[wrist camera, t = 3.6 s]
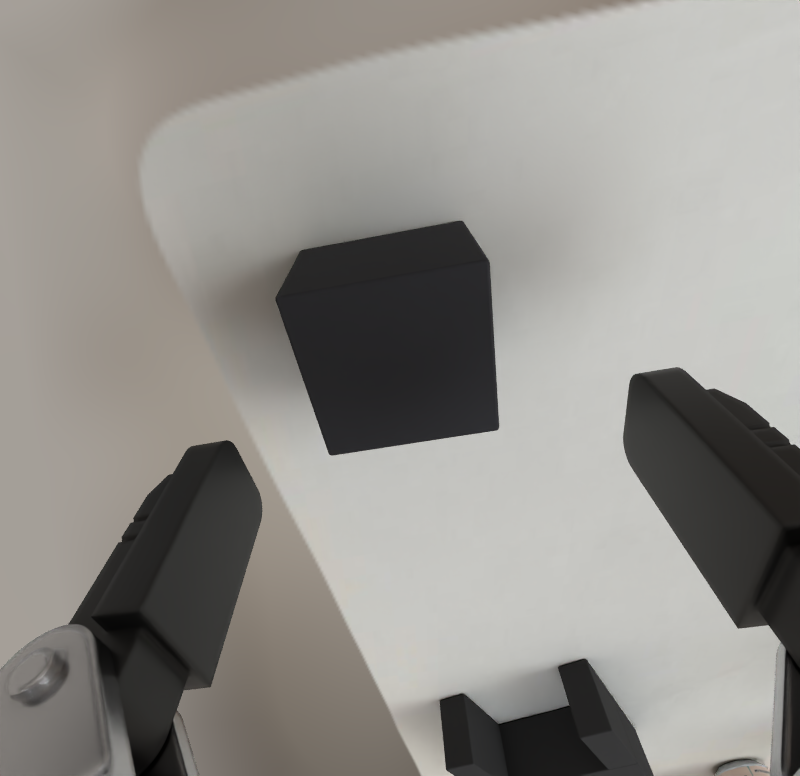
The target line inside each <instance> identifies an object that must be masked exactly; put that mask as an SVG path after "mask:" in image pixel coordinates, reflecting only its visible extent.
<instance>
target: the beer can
mask: <svg viewBox="0 0 800 776" xmlns="http://www.w3.org/2000/svg"><path fill="white" fill-rule="evenodd" d="M715 776H770V771H769V769H768V767H767V766H765V765H763V764H761V763H758V762H756V761H754V760H739V761H734V762H730V763H727V764H725V765H723V766H721V767H719V769H718V771H717V773H716V774H715Z"/></svg>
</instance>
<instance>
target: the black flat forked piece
mask: <svg viewBox="0 0 800 776" xmlns="http://www.w3.org/2000/svg"><path fill="white" fill-rule="evenodd" d="M558 669H559V673H560V676H561V679H562V682H563V685H564V689H565V692H566V695H567V698H568V702H569V705H570V707H567V708H563V709H559V710H555V711H552V712H548V713H544V714H540V715H536V716H532V717H529V718H525V719H521V720H517V721H513V722H509V723H505V724H502V725H498V724H497V723H496V722H495V721H494V720H493V719H492V718H490V717H489V716H488V715H487V714H486V713H485V712H484V711H483V710H481V709H480V708H479V707H478V706H477V705H476V704H475V703H473V702H472V701H471V700H470V699H469V698H468V697H467V696H465V695H464V694H462V695H459V696H455V697H452V698H448V699H445V700H441V701H440V710H441V720H442V731H443V741H444V752H445V762H446V770H447V771H448V772H450V773H451V774H453V775H454V776H654V775H653V773H652V770H651V768H650V765H649V763H648V760H647V758H646V755H645V753H644V750H643V748H642V745H641V743H640V740H639V738H638V735H637V733H636V731H635V729H634V727H633V726H632V724H631V723H630V722H629V720H628V719H627V717H626V716H625V714H624V713H623V711H622V710H621V709H620V707H619V706H618V704H617V703H616V701H615V700H614V699H613V697H612V696H611V694H610V693H609V691H608V690H607V688H606V687H605V686H604V684H603V683H602V681H601V680H600V678H599V677H598V676H597V674H596V673H595V671H594V670H593V668H592V667H591V665H590V664H589V663H588V661H587V660H582V661H578V662H575V663H571V664H568V665H564V666H561V667H558Z"/></svg>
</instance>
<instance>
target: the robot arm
mask: <svg viewBox="0 0 800 776" xmlns="http://www.w3.org/2000/svg"><path fill="white" fill-rule="evenodd" d="M623 442H624V449H625V453H626V456H627V459H628V462H629V464H630V466H631V467H632V469H633V471H634V472H635V474H636V475H637V477H638V478H639V480H640V481H641V483H642V484H643V486H644V487H645V489H646V490H647V492H648V493H649V495H650V496H651V498H652V499H653V501H654V502H655V504H656V505H657V507H658V508H659V510H660V511H661V513H662V514H663V516H664V517H665V519H666V520H667V522H668V523H669V525H670V526H671V528H672V530H673V531H674V533H675V534H676V536H677V537H678V539H679V540H680V542H681V543H682V545H683V546H684V548H685V549H686V551H687V552H688V554H689V555H690V557H691V558H692V560H693V561H694V563H695V564H696V566H697V567H698V569H699V570H700V572H701V573H702V575H703V576H704V578H705V579H706V581H707V582H708V584H709V585H710V587H711V588H712V590H713V591H714V593H715V594H716V596H717V598H718V599H719V601H720V602H721V604H722V605H723V607H724V608H725V610H726V611H727V613H728V614H729V616H730V617H731V619H732V620H733V622H734V623H735V625H736V626H737V628H747V627H756V626H764V625H769V626H770V628H771V629H772V630H773V632H774V633H775V635H776V636H777V637H778V639H779V640H780V641H781V643H780V645H779V647H778V649H777V654H776V672H775V690H774V708H773V726H772V744H771V763H770V776H800V449H799V448H798V447H797V446H796V445H795V444H794V445H791V444H790V443H789V439H788V438H786V437H785V436H784V435H783V434H782V433H780V432H779V431H778V430H777V429H776V428H775V427H770V426H769V422H767V421H766V420H765V419H764V418H763V417H762V416H760V415H759V414H758V413H757V412H756V411H755V410H753V409H752V408H751V407H750V406H749V405H747V404H746V403H744V402H742V401H740V400H738V399H736V398H734V397H731V396H729V395H727V394H725V393H723V392H721V391H719V390H716V389H709V390H705V389H704V388H703V387H702V386H701V385H700V384H699V383H698V382H697V381H696V380H694V379H693V378H692V377H691V376H690V375H689V374H688V373H687V372H686V371H684V370H683V369H681V368H678V367H675V368H669V369H663V370H657V371H651V372H645V373H639V374H635V375H633V377H632V378H631V380H630V384H629V392H628V400H627V409H626V417H625V426H624V434H623ZM261 518H262V502H261V497H260V493H259V491H258V489H257V487H256V485H255V483H254V481H253V479H252V477H251V475H250V473H249V471H248V470H247V468H246V466H245V464H244V462H243V460H242V458H241V456H240V454H239V452H238V450H237V448H236V447H235V445H234V444H233V443H232V442H230V441H227V440H226V441H220V442H214V443H209V444H203V445H196V446H191V447H190V448H188V449H187V451H186V452H185V454H184V456H183V457H182V459H181V461H180V463H179V464H178V466H177V468H176V470H175V471H174V473H173V474H171V475H168V476H167V477H166V478H165V479H164V480H163V481H162V482H161V483H160V484H159V485H158V486H157V487H156V488H155V489H153V490H152V491H151V493H149V494H148V495H147V497H146V499H145V500H144V502H143V503H142V505H141V507H140V508H139V510H138V511H137V513H136V515H135V516H134V518H133V519H134V522H133V523H130V525H129V527H128V528H127V530H126V531H125V533H124V535H123V536H122V542H120V543H118V544H117V546H116V548H115V549H114V551H113V552H112V554H111V556H110V557H109V559H108V561H107V562H106V564H105V566H104V567H103V569H102V570H101V572H100V574H99V575H98V577H97V579H96V581H95V582H94V584H93V585H92V587H91V589H90V590H89V592H88V593H87V595H86V597H85V598H84V600H83V602H82V603H81V605H80V607H79V608H78V610H77V611H76V613H75V615H74V616H73V618H72V620H71V621H70V623H69V624H68V625H64V626H61V627H58V628H55V629H52V630H50V631H48V632H46V633H44V634H43V635H41V636H39V637H37V638H36V639H34V640H33V641H31V642H30V643H28V644H27V645H26V646H24V647H23V648H22V649H21V650H19V651H18V652H17V653H16V654H15V655H14V656H13V657H12V658H11V659H10V660H9V661H8V662H7V663H6V664H5V665H4V666H3V667H2V668H1V669H0V776H199V773H198V770H197V766H196V763H195V760H194V756H193V752H192V749H191V746H190V742H189V739H188V736H187V732H186V729H185V726H184V722H183V719H182V717H181V715H180V713H179V712H178V711H177V707H178V705H179V701H180V699H181V696H182V693H183V690H190V689H198V688H207V687H211V684H212V680H213V677H214V674H215V671H216V667H217V664H218V661H219V658H220V654H221V651H222V648H223V644H224V641H225V638H226V634H227V631H228V628H229V625H230V621H231V618H232V615H233V611H234V608H235V605H236V601H237V598H238V595H239V592H240V588H241V585H242V582H243V578H244V575H245V572H246V568H247V565H248V562H249V559H250V555H251V552H252V549H253V545H254V542H255V539H256V536H257V532H258V529H259V526H260V522H261Z"/></svg>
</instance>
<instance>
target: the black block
mask: <svg viewBox="0 0 800 776" xmlns="http://www.w3.org/2000/svg"><path fill="white" fill-rule="evenodd" d="M276 303H277V306H278V309H279V312H280V314H281V317H282V320H283V323H284V326H285V329H286V332H287V335H288V337H289V340H290V343H291V346H292V349H293V352H294V355H295V358H296V360H297V363H298V366H299V369H300V372H301V375H302V378H303V381H304V383H305V386H306V389H307V392H308V395H309V398H310V401H311V404H312V406H313V409H314V412H315V415H316V418H317V421H318V424H319V427H320V429H321V432H322V435H323V438H324V441H325V444H326V447H327V450H328V452H329V454H330V455H338V454H345V453H351V452H358V451H364V450H371V449H377V448H384V447H391V446H397V445H404V444H410V443H417V442H423V441H430V440H436V439H443V438H449V437H456V436H462V435H469V434H475V433H482V432H489V431H495V430H498V429H499V417H498V399H497V382H496V365H495V348H494V330H493V313H492V296H491V278H490V262H489V260H488V258H487V257H486V255H485V254H484V252H483V251H482V249H481V248H480V246H479V245H478V243H477V242H476V240H475V239H474V237H473V236H472V234H471V233H470V231H469V230H468V228H467V227H466V225H465V224H464V222H463V221H458V222H452V223H447V224H441V225H436V226H431V227H425V228H420V229H414V230H409V231H404V232H398V233H393V234H387V235H382V236H377V237H371V238H366V239H360V240H355V241H349V242H344V243H339V244H333V245H328V246H322V247H317V248H312V249H306V250H302V251H300V253H299V255H298V257H297V258H296V260H295V262H294V264H293V266H292V268H291V270H290V272H289V273H288V275H287V277H286V279H285V281H284V283H283V285H282V287H281V289H280V290H279V292H278V294H277V296H276Z"/></svg>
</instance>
